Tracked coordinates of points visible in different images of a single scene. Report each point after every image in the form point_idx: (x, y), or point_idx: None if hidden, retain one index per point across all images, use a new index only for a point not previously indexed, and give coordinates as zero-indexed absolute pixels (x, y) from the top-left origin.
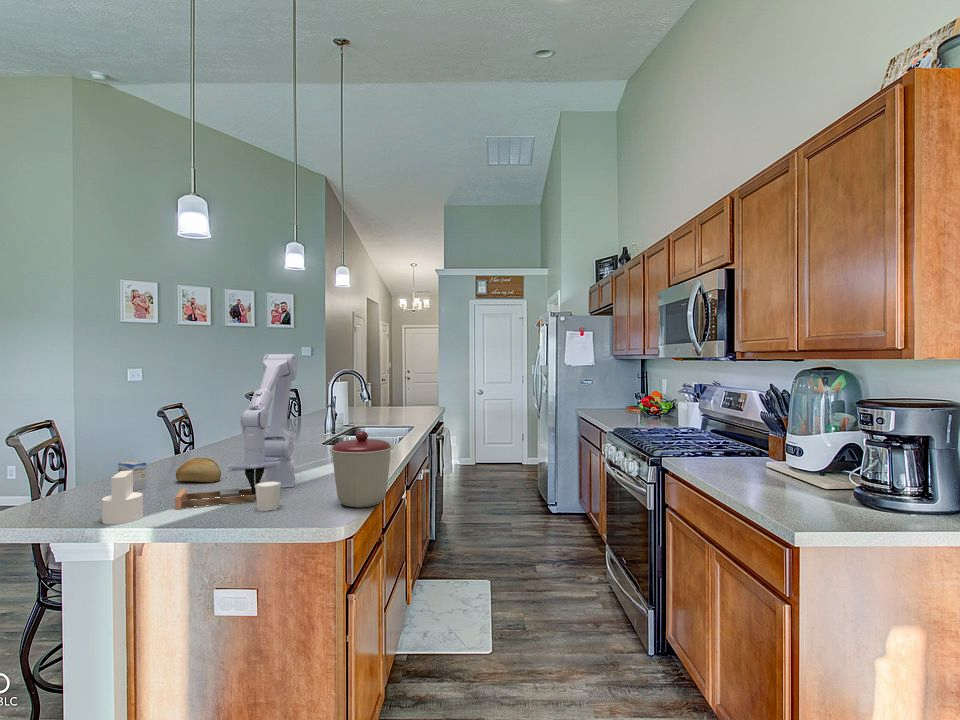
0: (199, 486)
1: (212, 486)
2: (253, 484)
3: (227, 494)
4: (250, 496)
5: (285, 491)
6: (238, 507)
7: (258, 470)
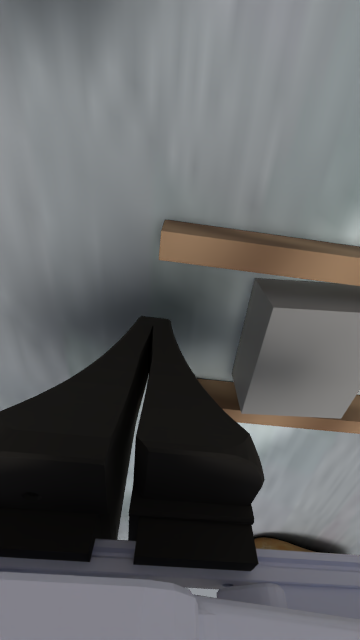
0: (310, 522)
1: (277, 513)
2: (156, 354)
3: (351, 311)
4: (191, 233)
5: (4, 377)
6: (301, 97)
7: (60, 510)
